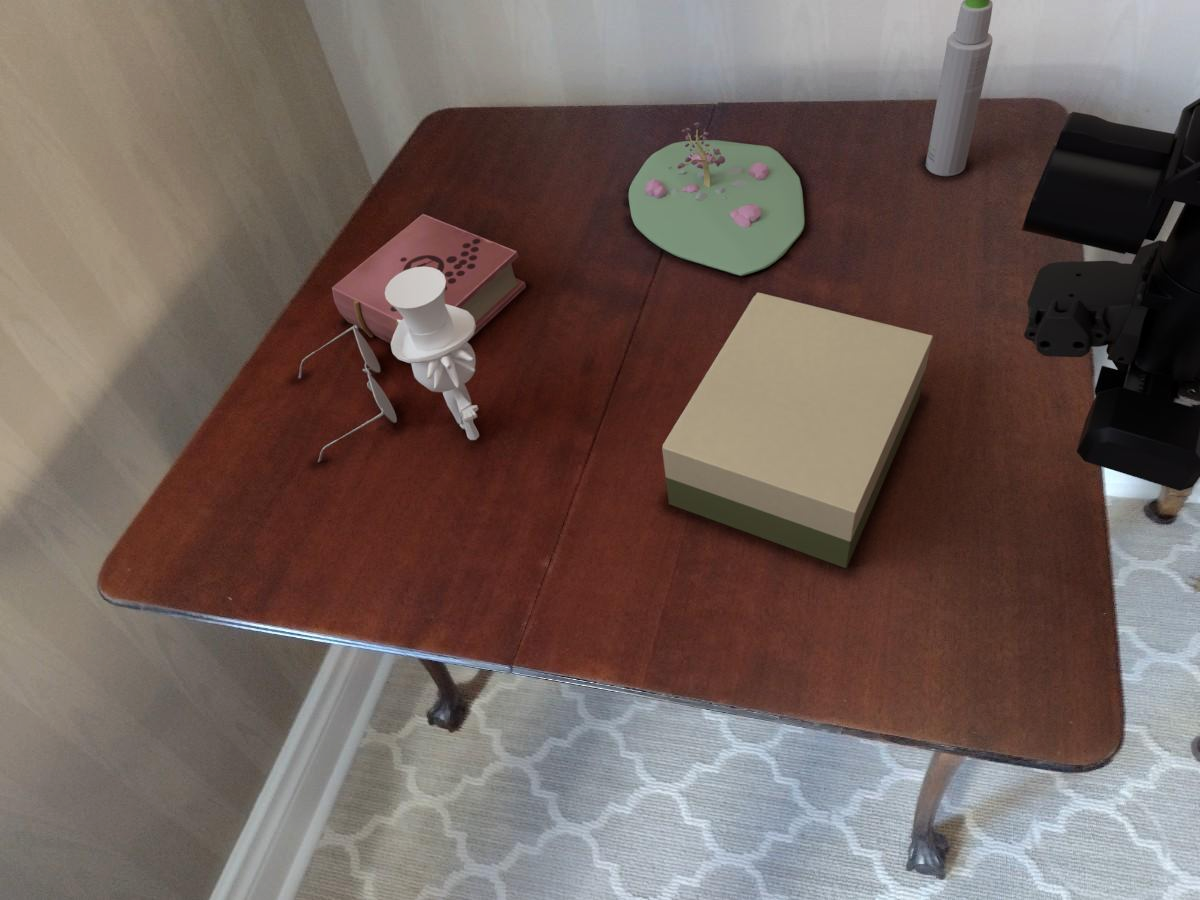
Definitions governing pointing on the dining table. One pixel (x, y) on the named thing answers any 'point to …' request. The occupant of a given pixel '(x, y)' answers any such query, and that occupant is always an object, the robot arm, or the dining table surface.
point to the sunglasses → (372, 384)
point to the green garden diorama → (719, 203)
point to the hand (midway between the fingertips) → (1115, 439)
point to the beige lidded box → (797, 425)
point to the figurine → (435, 339)
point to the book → (463, 258)
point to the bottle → (960, 89)
